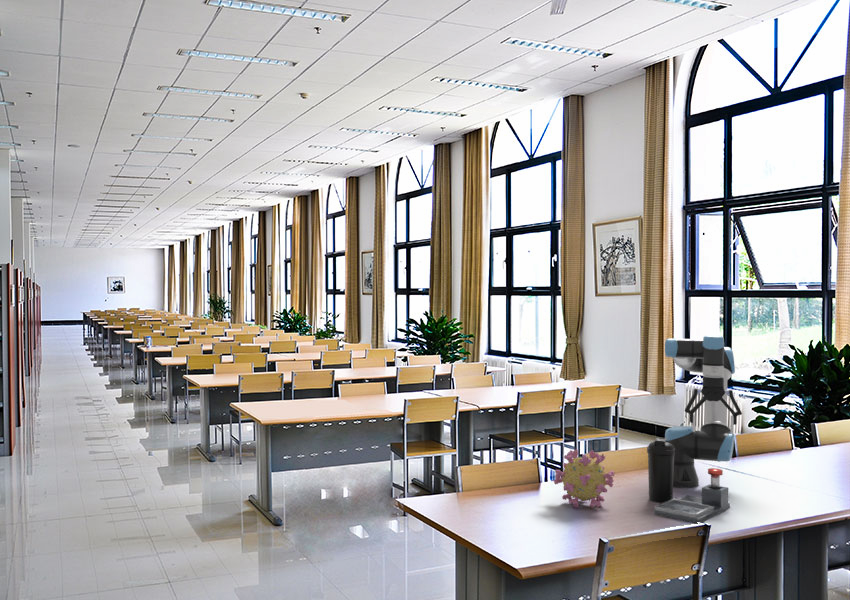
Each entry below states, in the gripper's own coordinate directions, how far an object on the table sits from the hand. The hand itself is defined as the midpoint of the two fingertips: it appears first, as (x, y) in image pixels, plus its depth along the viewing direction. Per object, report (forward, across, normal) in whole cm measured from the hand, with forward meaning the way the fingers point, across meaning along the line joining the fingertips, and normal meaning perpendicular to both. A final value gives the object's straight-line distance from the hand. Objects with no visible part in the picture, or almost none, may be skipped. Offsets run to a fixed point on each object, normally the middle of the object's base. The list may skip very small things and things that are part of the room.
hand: (712, 432), depth 290 cm
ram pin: (+20, 0, -13) cm, 23 cm away
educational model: (+26, -46, -23) cm, 58 cm away
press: (+25, -8, -18) cm, 33 cm away
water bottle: (+26, -19, -6) cm, 33 cm away
